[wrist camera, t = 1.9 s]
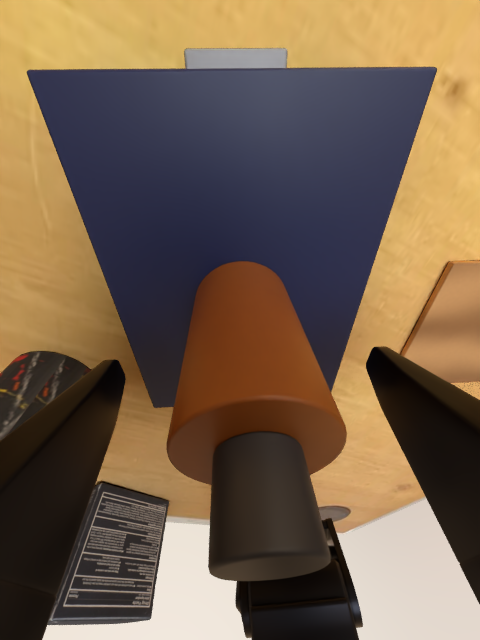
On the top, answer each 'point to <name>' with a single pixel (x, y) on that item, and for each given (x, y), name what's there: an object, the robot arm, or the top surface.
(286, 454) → the bottle
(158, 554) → the small box
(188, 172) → the case
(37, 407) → the deodorant
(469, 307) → the coaster
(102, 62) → the top surface
